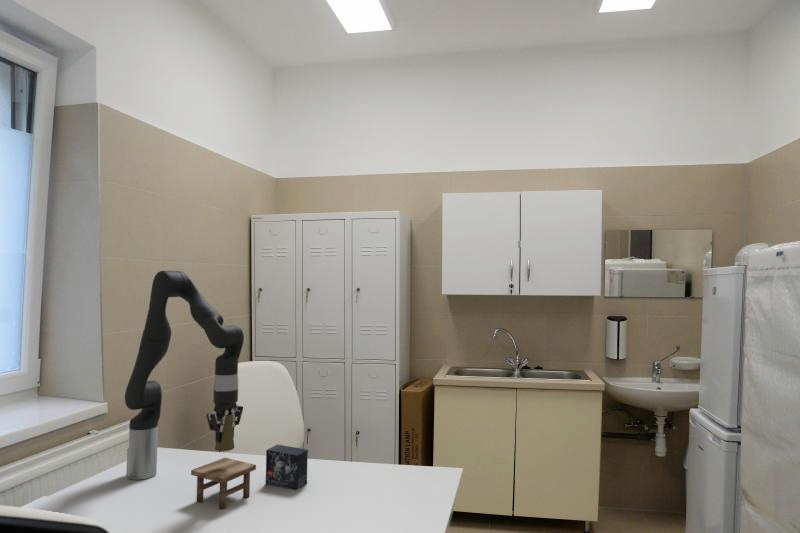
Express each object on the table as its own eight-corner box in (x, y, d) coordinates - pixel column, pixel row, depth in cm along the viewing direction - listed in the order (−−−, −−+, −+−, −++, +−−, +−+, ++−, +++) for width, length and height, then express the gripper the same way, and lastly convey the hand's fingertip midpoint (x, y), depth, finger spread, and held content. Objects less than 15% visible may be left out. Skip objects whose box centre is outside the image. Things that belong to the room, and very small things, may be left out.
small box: (264, 484, 182) (265, 449, 183) (276, 477, 189) (277, 444, 189) (297, 490, 177) (297, 454, 178) (307, 483, 184) (308, 449, 184)
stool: (190, 502, 167) (191, 470, 167) (224, 487, 179) (225, 457, 179) (222, 511, 160) (223, 478, 160) (255, 495, 172) (256, 464, 173)
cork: (228, 451, 167) (229, 416, 167) (210, 450, 168) (211, 415, 168) (237, 446, 172) (238, 412, 173) (221, 444, 174) (222, 410, 174)
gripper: (233, 383, 179) (232, 434, 178) (200, 390, 166) (198, 445, 166) (250, 385, 175) (249, 437, 175) (217, 393, 163) (215, 449, 162)
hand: (224, 441), depth 170 cm, fingers closed on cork, 4 cm apart
